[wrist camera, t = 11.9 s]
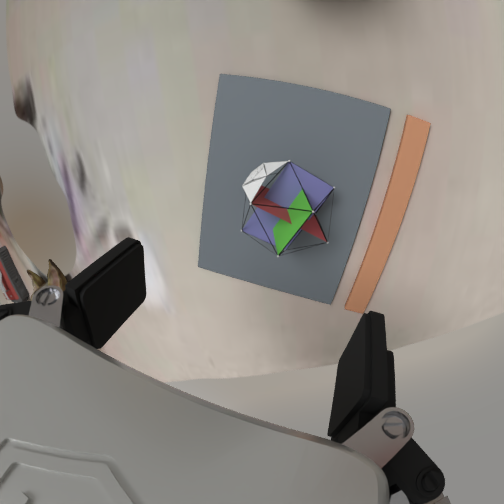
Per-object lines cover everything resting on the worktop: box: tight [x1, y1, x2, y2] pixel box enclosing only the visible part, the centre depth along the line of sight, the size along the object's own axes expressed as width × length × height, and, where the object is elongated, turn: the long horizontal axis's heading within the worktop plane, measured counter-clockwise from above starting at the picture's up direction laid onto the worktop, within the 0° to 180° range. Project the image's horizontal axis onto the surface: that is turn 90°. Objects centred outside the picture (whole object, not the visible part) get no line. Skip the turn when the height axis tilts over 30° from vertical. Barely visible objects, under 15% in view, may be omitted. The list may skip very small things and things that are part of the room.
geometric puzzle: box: [241, 160, 335, 257], centre depth 22 cm, size 7×7×8 cm
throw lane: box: [198, 74, 431, 314], centre depth 25 cm, size 18×19×1 cm
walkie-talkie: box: [0, 246, 29, 303], centre depth 46 cm, size 9×4×20 cm
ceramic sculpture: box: [27, 259, 67, 301], centre depth 39 cm, size 11×9×15 cm
